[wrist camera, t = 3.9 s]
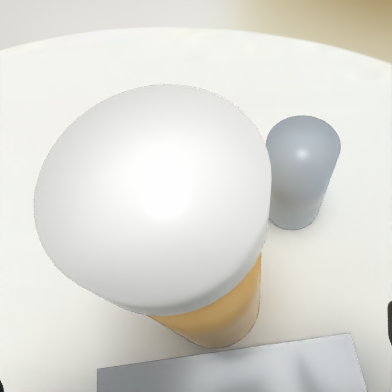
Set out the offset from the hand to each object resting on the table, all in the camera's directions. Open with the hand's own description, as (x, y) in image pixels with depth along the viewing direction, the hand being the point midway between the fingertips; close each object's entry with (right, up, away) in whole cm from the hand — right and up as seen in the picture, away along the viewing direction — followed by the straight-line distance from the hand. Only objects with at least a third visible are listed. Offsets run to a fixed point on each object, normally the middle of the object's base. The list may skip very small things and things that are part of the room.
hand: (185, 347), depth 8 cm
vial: (+1, -2, +11) cm, 11 cm away
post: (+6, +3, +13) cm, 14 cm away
